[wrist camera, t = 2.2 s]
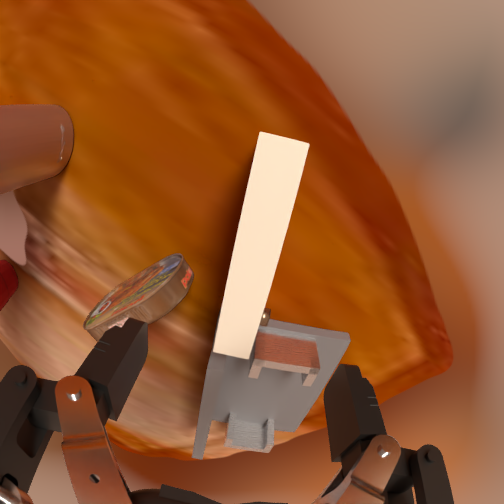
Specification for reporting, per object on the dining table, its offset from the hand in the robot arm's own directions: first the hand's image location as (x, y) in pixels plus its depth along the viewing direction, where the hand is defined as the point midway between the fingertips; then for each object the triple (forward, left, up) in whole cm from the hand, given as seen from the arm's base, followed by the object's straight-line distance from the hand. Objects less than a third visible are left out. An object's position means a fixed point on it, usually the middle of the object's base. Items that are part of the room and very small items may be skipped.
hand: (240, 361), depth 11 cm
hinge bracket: (+6, -22, -19) cm, 29 cm away
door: (0, 0, -19) cm, 19 cm away
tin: (-11, -10, -19) cm, 24 cm away
